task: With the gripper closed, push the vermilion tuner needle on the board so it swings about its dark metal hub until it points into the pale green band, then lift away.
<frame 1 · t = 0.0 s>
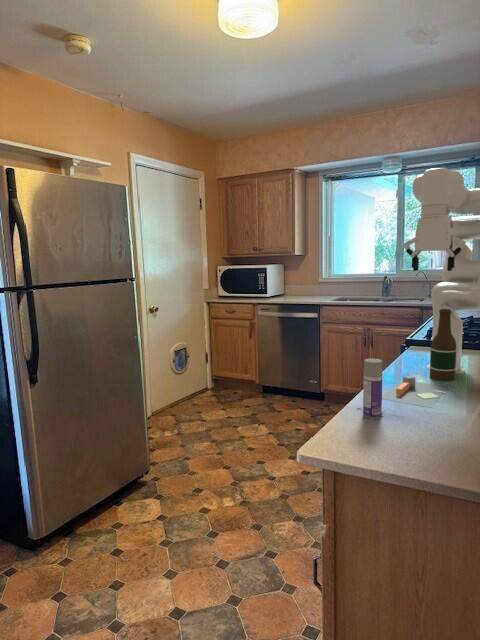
hand: (432, 270, 130), 37 cm above the countertop, tool pointing down, fingers open, 9 cm apart
tuner board: (415, 396, 128), on the countertop
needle: (404, 385, 129), point 3 cm above the countertop, hinge at 0.0°
beer bottle: (442, 381, 142), on the countertop
container: (372, 416, 114), on the countertop
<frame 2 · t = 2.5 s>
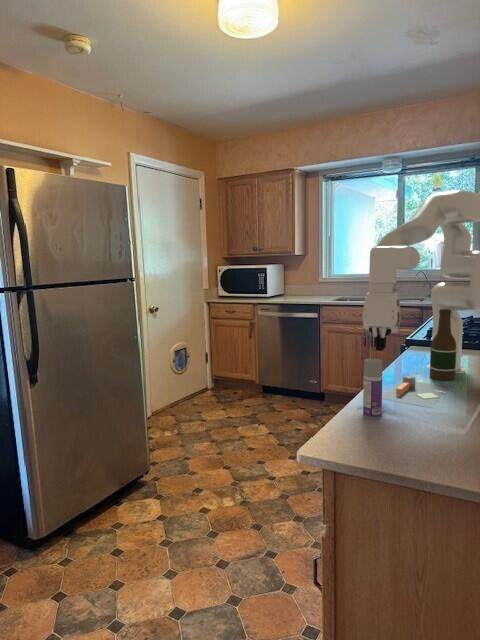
hand: (379, 349, 129), 14 cm above the countertop, tool pointing down, fingers closed
nothing on the countertop moved.
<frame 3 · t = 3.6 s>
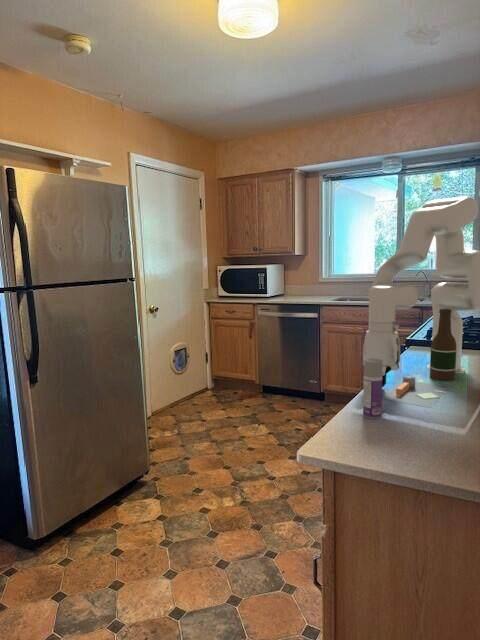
hand: (380, 386, 131), 2 cm above the countertop, tool pointing down, fingers closed
nothing on the countertop moved.
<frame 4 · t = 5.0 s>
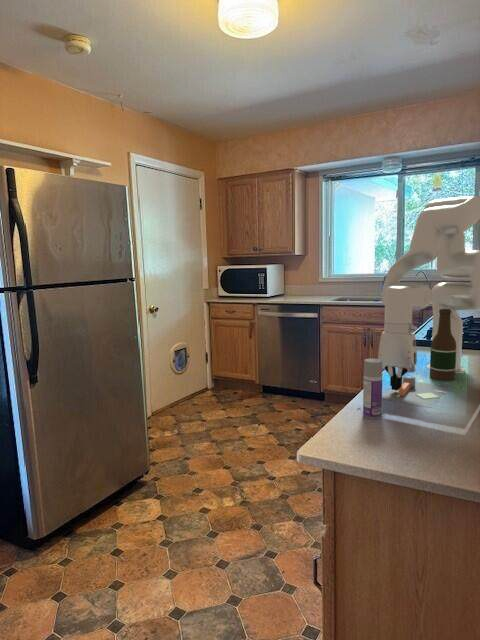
hand: (395, 388, 128), 2 cm above the countertop, tool pointing down, fingers closed
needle: (405, 385, 129), point 3 cm above the countertop, hinge at 4.2°, touching gripper
everything else where it was.
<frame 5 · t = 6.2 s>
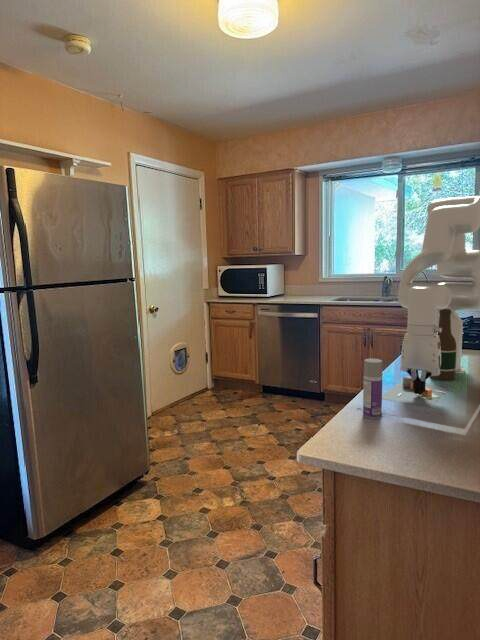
hand: (419, 392, 124), 2 cm above the countertop, tool pointing down, fingers closed
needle: (417, 385, 129), point 3 cm above the countertop, hinge at 49.9°, touching gripper
everything else where it was.
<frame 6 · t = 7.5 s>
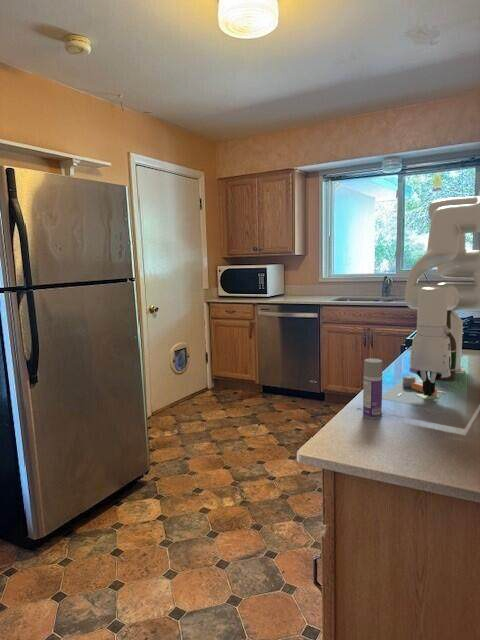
hand: (428, 394, 123), 2 cm above the countertop, tool pointing down, fingers closed
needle: (419, 385, 129), point 3 cm above the countertop, hinge at 60.5°, touching gripper
everything else where it was.
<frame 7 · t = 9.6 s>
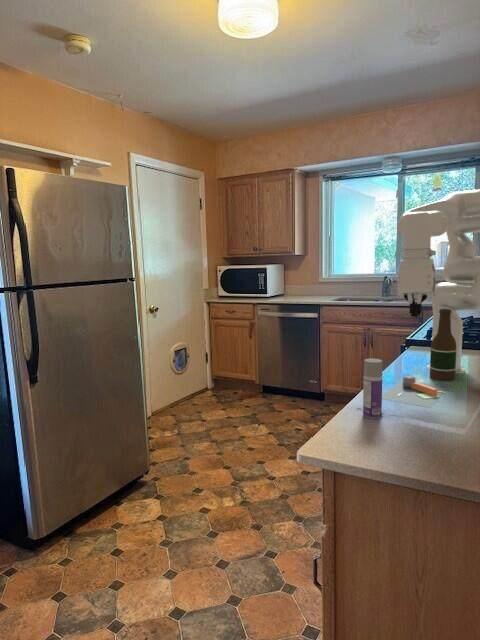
hand: (415, 316, 130), 23 cm above the countertop, tool pointing down, fingers closed
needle: (419, 385, 129), point 3 cm above the countertop, hinge at 61.1°
everything else where it was.
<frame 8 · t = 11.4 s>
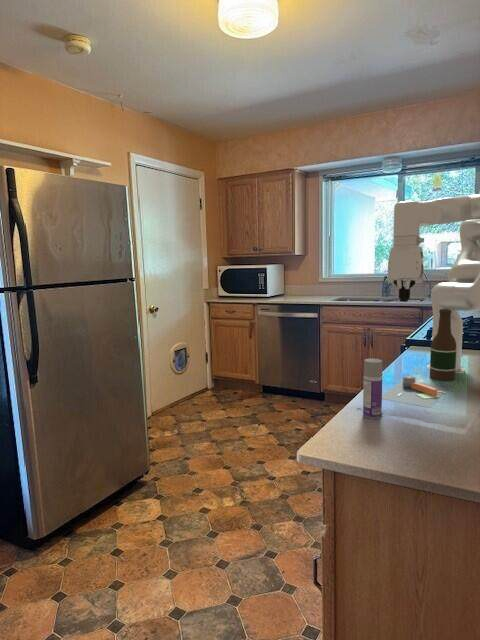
hand: (404, 301, 136), 27 cm above the countertop, tool pointing down, fingers closed
nothing on the countertop moved.
at the end: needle at +61° (first picture: +0°); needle touching nothing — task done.
